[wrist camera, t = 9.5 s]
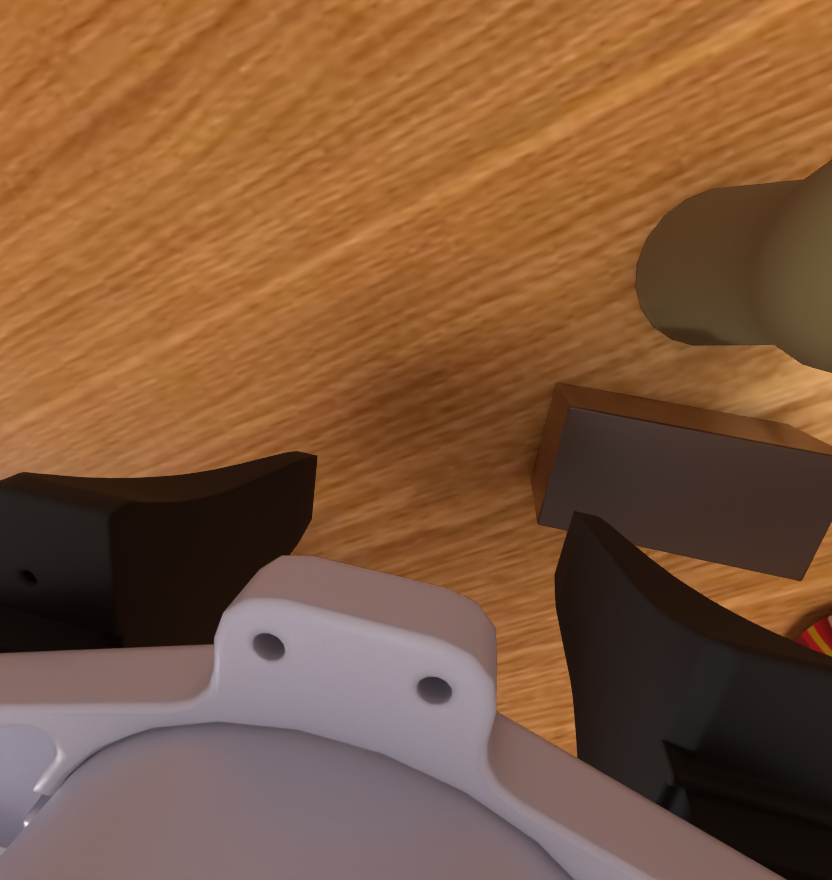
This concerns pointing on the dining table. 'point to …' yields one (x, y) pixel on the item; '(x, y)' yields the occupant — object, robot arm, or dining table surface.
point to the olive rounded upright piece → (746, 268)
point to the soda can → (818, 636)
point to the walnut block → (685, 479)
